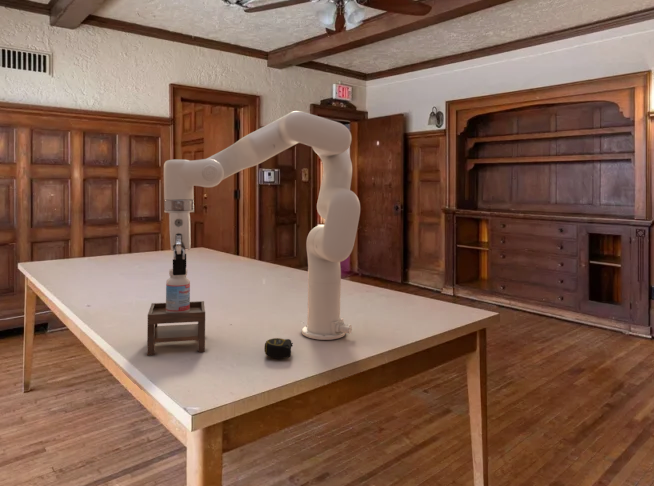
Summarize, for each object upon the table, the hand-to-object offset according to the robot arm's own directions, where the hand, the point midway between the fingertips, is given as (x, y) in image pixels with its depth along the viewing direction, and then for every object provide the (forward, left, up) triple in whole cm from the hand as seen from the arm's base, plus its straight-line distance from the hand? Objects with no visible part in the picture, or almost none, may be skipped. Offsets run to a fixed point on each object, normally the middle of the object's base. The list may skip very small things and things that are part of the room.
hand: (179, 271), depth 122 cm
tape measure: (-27, -9, -20) cm, 34 cm away
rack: (0, 0, -20) cm, 20 cm away
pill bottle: (0, 0, -11) cm, 11 cm away
